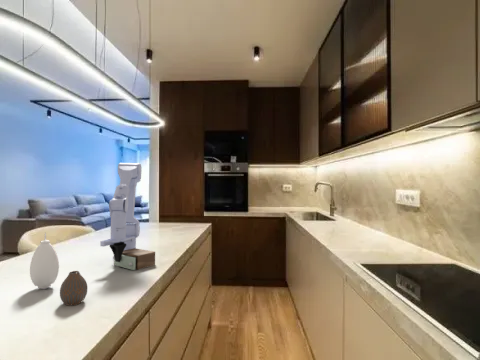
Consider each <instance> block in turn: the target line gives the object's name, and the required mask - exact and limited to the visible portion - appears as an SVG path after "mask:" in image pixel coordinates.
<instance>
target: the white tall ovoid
mask: <svg viewBox="0 0 480 360" xmlns="http://www.w3.org/2000/svg"><path fill="white" fill-rule="evenodd" d="M43 238H44V239H43V240H41V241H40V243H39V245H38V246H37V247H36V249H35V251H34V252H33V255H32V257H31V260H30V265H29V276H30V280H31V282H32V284H33V285H34V286H35V287H37V288H38V289H41V290H45V289H48V288H49V287H51V286H52V284H54V283H55V282H56V281H57V278H58V275H59V271H60V269H59V268H60V264H59V257H58V254H57V253H58V252H57V251H56V250H55V248H54V246H53V245H52V244H51V243H50V242H51V240H49V239H47V233H46V232H44V237H43Z"/></svg>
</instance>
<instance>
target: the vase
mask: <svg viewBox="0 0 480 360" xmlns="http://www.w3.org/2000/svg"><path fill="white" fill-rule="evenodd" d="M87 283H88V282H87V281H86V278H84V277H83V275H82V274H81V273H80V271H79V270H73V271H69V272H68V275H67V276H66V277H65V278H64V280H63V281H62V283H61V286H60V288H59V297H60V300H61V303H63V304H65V305H66V306H76V305H79V304H81V303H82V302H83V301H84V300H85V298H86V296H87V294H88V284H87Z"/></svg>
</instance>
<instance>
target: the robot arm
mask: <svg viewBox="0 0 480 360" xmlns="http://www.w3.org/2000/svg"><path fill="white" fill-rule="evenodd" d="M117 165H118V166H117V174H118V177H119V185H117V186H116V187H115V191H114V194H113V197H112V199H110V200H109V204H108V209H109V211H108V212H109V217H110V238H107V239H104V240H100V247H102V248H103V247H107V246H109V249H111V251H112V254H113V256H112V258H113V259H114V257H115V262H120V259H121V256H122V253H123V251H124V250H128V249H133V248H136V249H137V238H138V237H140V233H141V231H140V229H141V228H140V220H138V219H137V218H136V217H135V205H136V192H137V191H136V190H137V184H138V183H139V182H141V179H142V165H141V163H140V162H137V163H136V162H135V163H134V162H133V163H132V162H119V163H118V164H117Z"/></svg>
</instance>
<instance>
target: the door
mask: <svg viewBox="0 0 480 360" xmlns="http://www.w3.org/2000/svg"><path fill="white" fill-rule="evenodd" d="M113 259H114V260H113V265H114V266H116V267H119V268H120V267H121V268H125V269H128V270H132V271H135V270H136V269H135V262H136V258H134V257H130V256H125V255H122V256H121V259H120V262H115V257H114V258H113Z"/></svg>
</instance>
